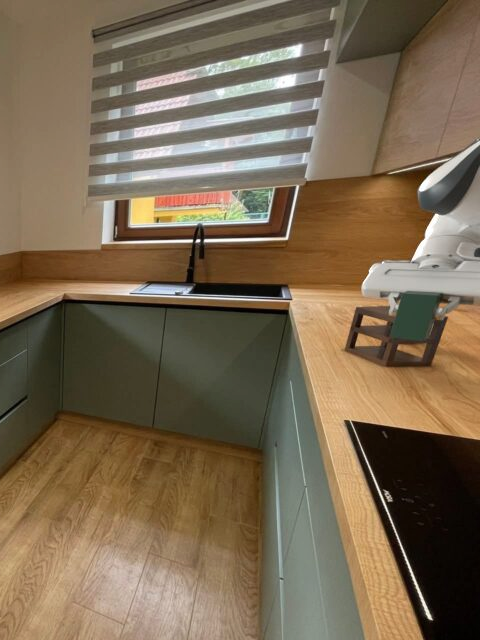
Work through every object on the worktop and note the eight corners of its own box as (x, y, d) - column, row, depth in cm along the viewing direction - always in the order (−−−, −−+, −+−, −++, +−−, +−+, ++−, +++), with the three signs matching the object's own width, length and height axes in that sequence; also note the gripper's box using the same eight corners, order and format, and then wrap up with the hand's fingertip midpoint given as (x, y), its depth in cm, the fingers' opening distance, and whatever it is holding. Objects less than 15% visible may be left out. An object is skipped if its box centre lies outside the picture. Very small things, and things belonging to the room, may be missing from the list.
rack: (384, 349, 115) (397, 305, 111) (431, 366, 102) (448, 316, 98) (344, 350, 117) (355, 306, 112) (385, 366, 104) (400, 318, 99)
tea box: (395, 332, 91) (408, 290, 88) (429, 336, 87) (443, 292, 84) (389, 337, 88) (402, 293, 85) (423, 341, 84) (438, 295, 81)
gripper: (374, 250, 94) (348, 301, 92) (522, 251, 78) (494, 312, 76) (374, 269, 98) (350, 318, 96) (515, 273, 82) (489, 332, 80)
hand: (415, 316), depth 86 cm, fingers closed on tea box, 5 cm apart
